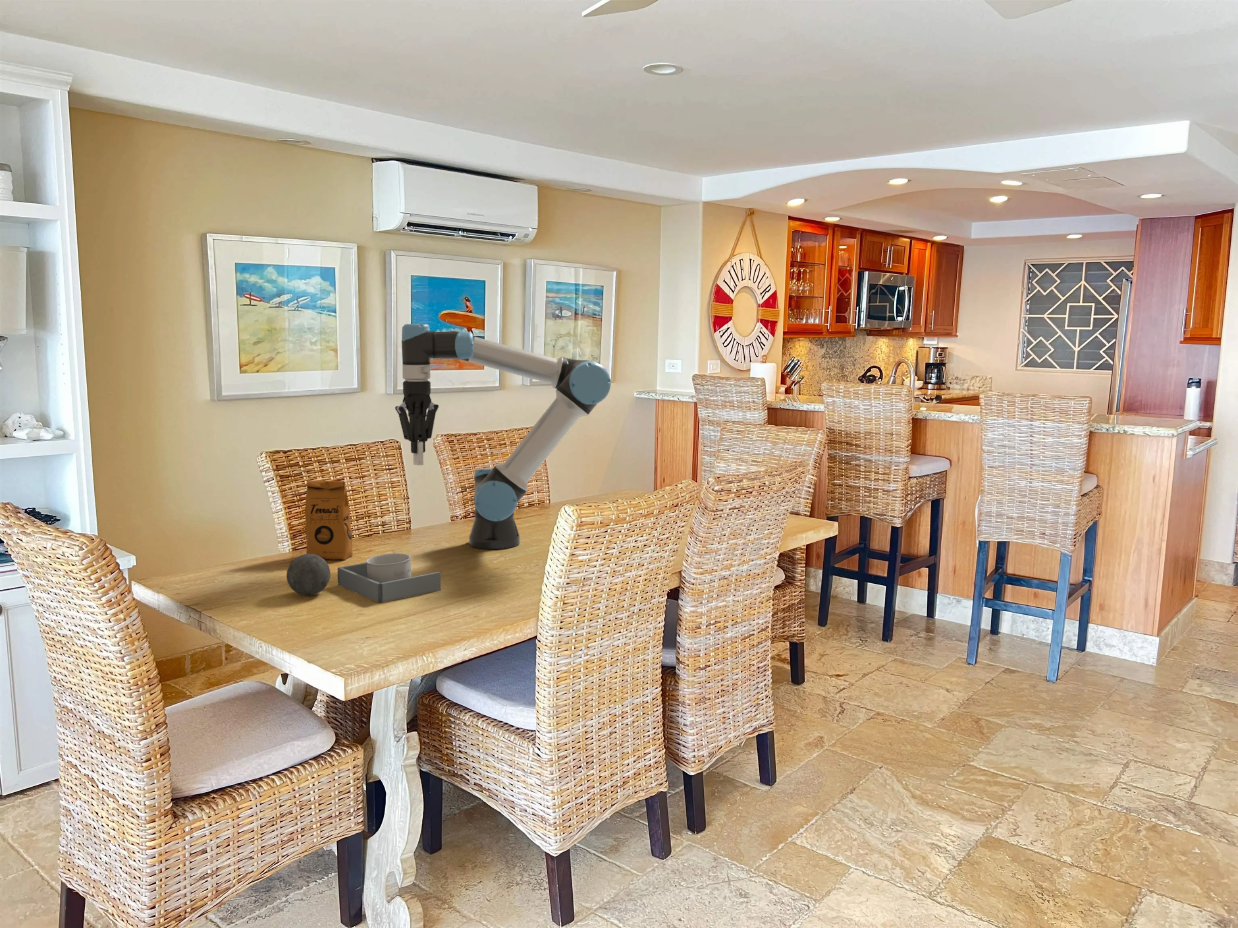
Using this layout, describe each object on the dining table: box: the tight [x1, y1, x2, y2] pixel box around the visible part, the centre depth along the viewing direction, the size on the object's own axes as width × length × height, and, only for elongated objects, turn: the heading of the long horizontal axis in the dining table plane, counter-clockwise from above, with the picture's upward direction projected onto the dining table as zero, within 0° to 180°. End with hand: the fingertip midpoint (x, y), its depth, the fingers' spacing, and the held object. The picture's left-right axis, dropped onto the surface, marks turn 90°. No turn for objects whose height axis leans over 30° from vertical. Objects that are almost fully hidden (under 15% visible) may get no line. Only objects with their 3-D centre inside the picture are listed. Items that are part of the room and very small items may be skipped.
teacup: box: [365, 551, 412, 583], centre depth 232 cm, size 14×11×8 cm
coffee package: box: [304, 479, 354, 561], centre depth 260 cm, size 10×12×22 cm
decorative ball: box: [286, 553, 331, 597], centre depth 224 cm, size 10×10×10 cm
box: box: [337, 562, 442, 604], centre depth 232 cm, size 17×21×4 cm
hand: (418, 464), depth 261 cm, fingers closed
